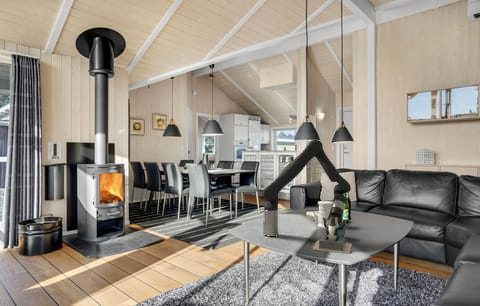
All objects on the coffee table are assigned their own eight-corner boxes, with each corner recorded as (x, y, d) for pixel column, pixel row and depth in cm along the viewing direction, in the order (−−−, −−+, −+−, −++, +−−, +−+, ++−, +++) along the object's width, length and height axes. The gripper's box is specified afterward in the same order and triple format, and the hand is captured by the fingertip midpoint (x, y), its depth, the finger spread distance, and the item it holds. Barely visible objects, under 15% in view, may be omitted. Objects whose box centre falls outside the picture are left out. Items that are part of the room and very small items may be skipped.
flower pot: (338, 241, 184) (338, 226, 185) (326, 238, 192) (326, 224, 192) (347, 238, 190) (346, 224, 190) (335, 235, 197) (334, 222, 197)
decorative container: (337, 227, 218) (337, 202, 218) (324, 229, 214) (324, 204, 214) (327, 224, 229) (327, 200, 229) (314, 225, 225) (314, 201, 225)
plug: (328, 243, 172) (327, 217, 172) (329, 241, 175) (328, 216, 175) (335, 244, 170) (335, 218, 170) (336, 242, 174) (335, 216, 174)
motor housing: (312, 249, 169) (312, 240, 169) (317, 241, 184) (317, 233, 184) (349, 253, 161) (349, 244, 161) (352, 245, 176) (351, 236, 176)
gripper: (324, 205, 183) (317, 229, 173) (347, 207, 175) (342, 232, 165) (327, 212, 187) (320, 236, 177) (350, 214, 179) (345, 239, 169)
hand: (331, 234), depth 171 cm, fingers closed on plug, 4 cm apart
